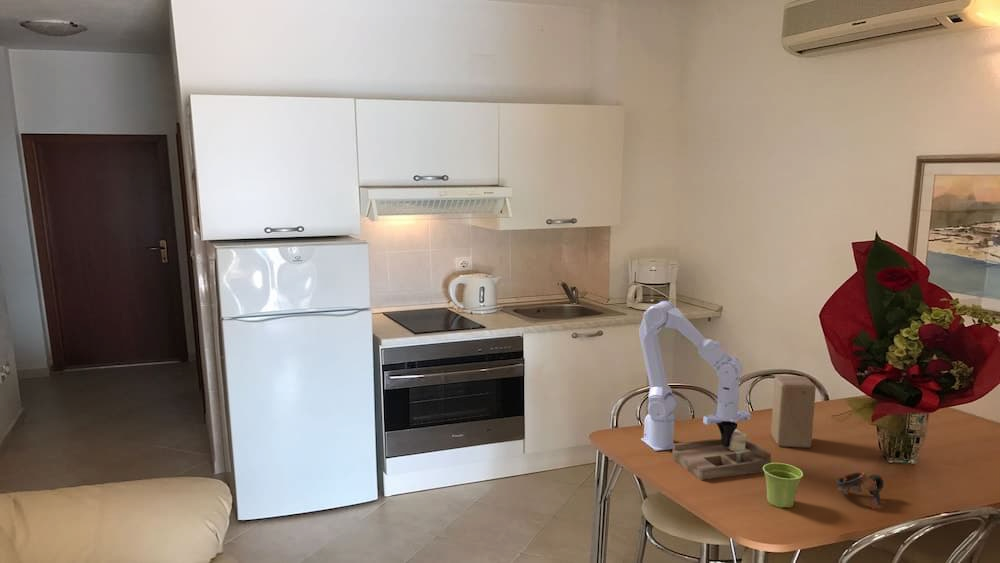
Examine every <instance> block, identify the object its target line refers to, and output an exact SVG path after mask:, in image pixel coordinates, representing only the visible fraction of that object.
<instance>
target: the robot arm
mask: <svg viewBox="0 0 1000 563" xmlns="http://www.w3.org/2000/svg"><path fill="white" fill-rule="evenodd" d="M663 327H664V328H667V329H675V330H678V332H680V333H681V334H682V335H683V336H684V337H686V338H687V340H689V341H690V342H691V343H693V344H694V345H695V346H696V347H697V354H698V355H699V356H700V357H701V358H702V359H704V361H706V362H707V364H708V365H710V366H711V367H712V368H713V369H714V370H715V372H716V376H717V377H718V385H717V387H718V388H717V407H716V412H715V413H712V414H709V415H705V416H703V418H702V422H703V424H704V425H706V426H710V425H711V424H716V426H717V428H718V429H719V433H720V436H721V437H720V438H721V443H722V445H724V446H725V447H729V445H730V438H731V436H732V434H733V432H734V431H735V430H737V429H738V421H745V420H746V421H751V417H752V416H751V415H752V414H751V413H750V412H748V411H739V396H740V377H739V376H740V374H741V373H742V371H743V366H742V363H741V361H739V358H737V357H734V356H733V355H731V353H729V354H728V352H726V351H725V350H724V349H723V348H722V347H721V346H720V345H721V343H720V342H719V341H718V340H716V341H714V339H709V338H705V336H704V335H703V334H702V333H701V332H700V331H699V330H698V329H697V328H696V327H695V326H694V325H693V324H692V322H690V321H689V320H688V319H687V317H686V316H685V315H684V314H683V312H682V311H681V310H680V309H679V308H678V307H675V305H674V304H673V303H672V302H671V301H668V300H662V301H659V302H658V303H656V304H653V305H651V306H650V307H648V308H647V309H646V310H645V311H644V313H643V314H642V321H641V323H640V325H639V328H638V335H639V341H640V345H641V350H642V355H643V360H644V364H645V369H646V375H647V379H648V384H649V392H648V398H647V399H648V404H647V412H648V414H647V415H646V416H645V418H644V424H643V437H642V438H640V440H641V441H642V442H643V443H645V444H646V445H647V446H649V447H650V448H651V449H653V450H654V451H656V452H657V451H659V452H660V451H665V450H666V451H667V450H673V444H676V443H675V442H674V433H675V414H674V411H675V410H676V408H677V406H678V401H677V398H676V396H675V395H674V394H673V391H672V388H671V386H669V383H668V381H667V375H666V372H665V371H666V370H665V366H664V360H663V356H662V352H661V346H660V342H659V337H658V336H659V335H658V333H659V332H660V331H661V330H662V328H663Z"/></svg>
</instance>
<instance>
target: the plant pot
mask: <svg viewBox="0 0 1000 563" xmlns="http://www.w3.org/2000/svg"><path fill="white" fill-rule="evenodd" d="M763 471H764V476H765V481H766V482H765V484H766V500H767V501H768V503H769V504H770V505H771V506H774V507H776V508H780V509H784V508H788V509H789V508H792V507H793V506H794V503H795V499H796V495H797V491H798V487H799V483H800V482H801V480H802V478H803V477H804V472H803V471H802V469H800V468H798V467H796V466H794V465H791V464H787V463H782V462H770V463H769V464H766V465H764V466H763Z"/></svg>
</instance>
